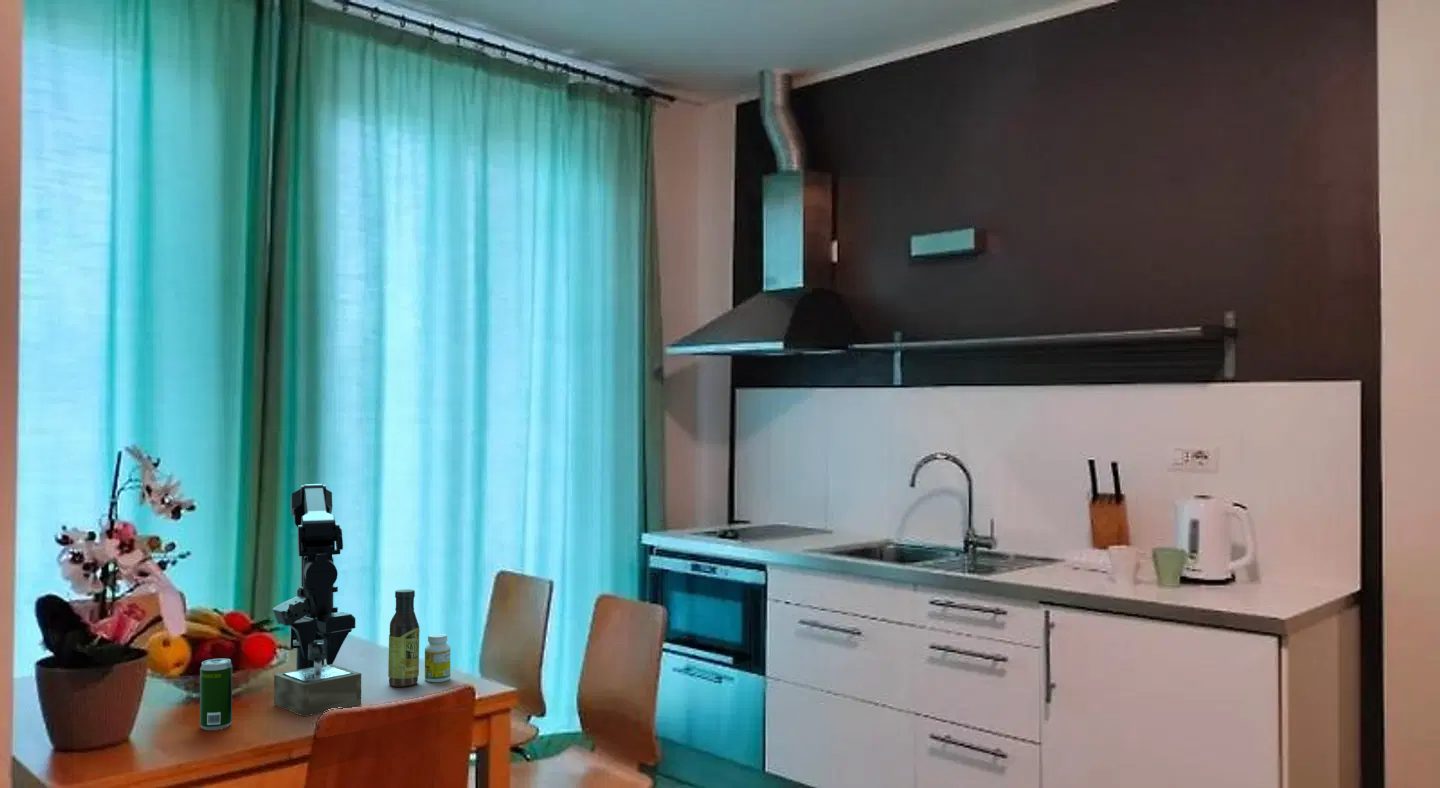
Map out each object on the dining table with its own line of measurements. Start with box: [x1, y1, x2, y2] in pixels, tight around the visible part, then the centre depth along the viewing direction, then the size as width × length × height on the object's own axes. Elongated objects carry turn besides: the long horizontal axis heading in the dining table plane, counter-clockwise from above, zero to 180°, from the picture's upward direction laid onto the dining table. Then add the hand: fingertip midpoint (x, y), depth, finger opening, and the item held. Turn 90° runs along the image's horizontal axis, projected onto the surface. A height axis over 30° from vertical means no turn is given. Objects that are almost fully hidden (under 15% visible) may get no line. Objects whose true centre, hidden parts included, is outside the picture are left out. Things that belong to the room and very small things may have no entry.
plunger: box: [284, 641, 351, 683], centre depth 218 cm, size 9×9×7 cm
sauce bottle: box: [387, 588, 420, 688], centre depth 234 cm, size 6×6×20 cm
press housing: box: [273, 663, 362, 717], centre depth 218 cm, size 12×12×6 cm
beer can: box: [199, 658, 233, 731], centre depth 203 cm, size 5×5×12 cm
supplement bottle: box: [424, 633, 451, 683], centre depth 238 cm, size 5×5×10 cm
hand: (317, 660), depth 218 cm, fingers open, 9 cm apart
